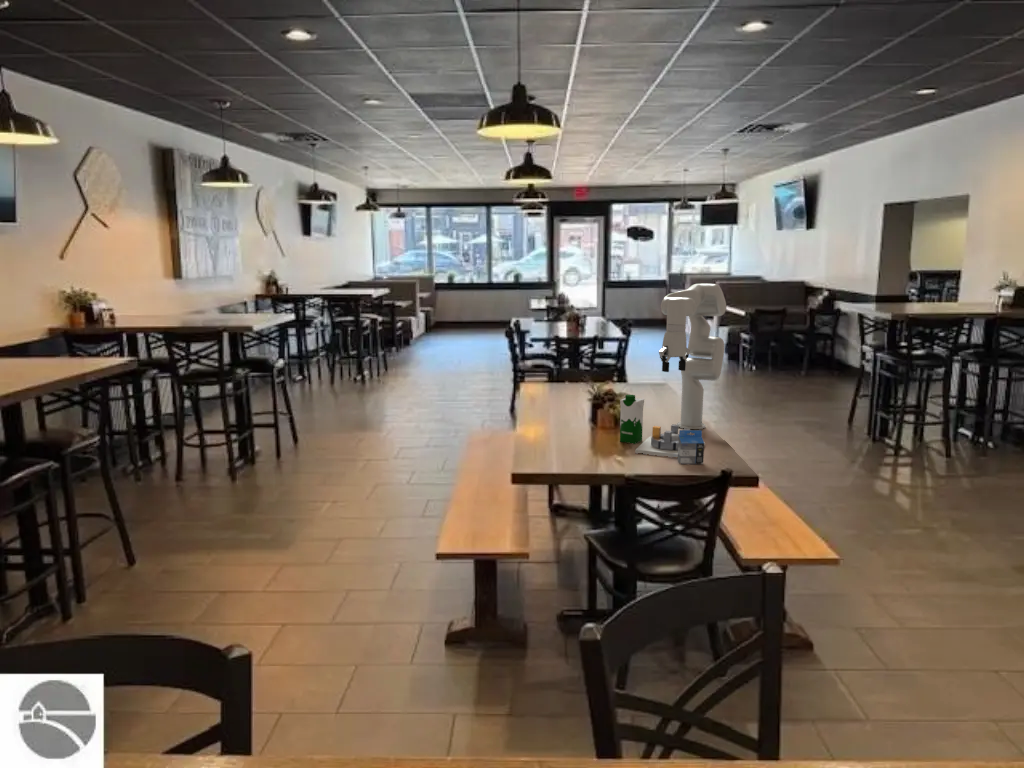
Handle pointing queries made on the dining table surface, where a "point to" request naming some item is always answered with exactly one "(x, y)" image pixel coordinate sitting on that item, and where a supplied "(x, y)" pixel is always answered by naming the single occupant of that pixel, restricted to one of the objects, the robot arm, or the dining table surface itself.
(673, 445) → the ring nut
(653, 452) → the cap base
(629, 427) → the milk carton
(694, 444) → the label tape cartridge
